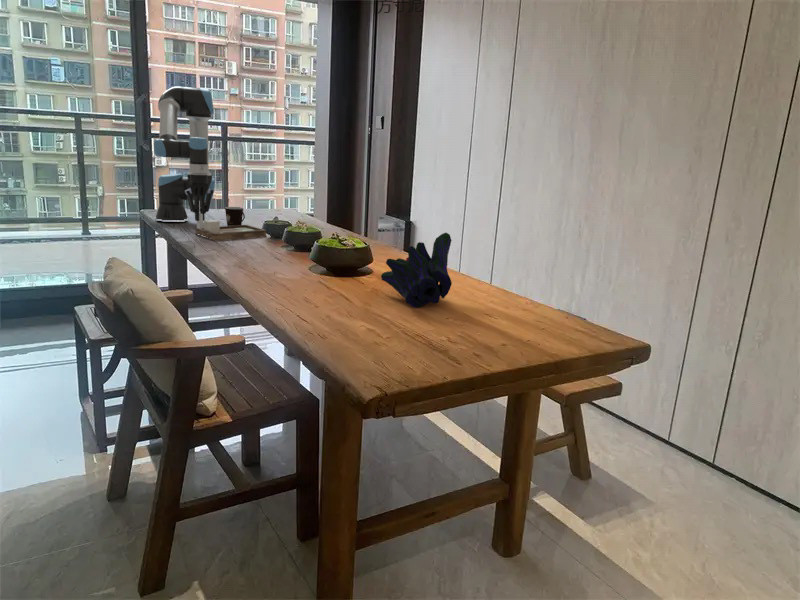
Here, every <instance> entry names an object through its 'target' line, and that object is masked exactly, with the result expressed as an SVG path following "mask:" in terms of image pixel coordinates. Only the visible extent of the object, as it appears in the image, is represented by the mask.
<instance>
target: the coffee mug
mask: <svg viewBox="0 0 800 600" xmlns="http://www.w3.org/2000/svg"><path fill="white" fill-rule="evenodd" d="M224 212H225V218H226V226H235V225H243V222H244V220H245V218H246V215H245V213H244V207H242V206H225V207H224Z"/></svg>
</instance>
